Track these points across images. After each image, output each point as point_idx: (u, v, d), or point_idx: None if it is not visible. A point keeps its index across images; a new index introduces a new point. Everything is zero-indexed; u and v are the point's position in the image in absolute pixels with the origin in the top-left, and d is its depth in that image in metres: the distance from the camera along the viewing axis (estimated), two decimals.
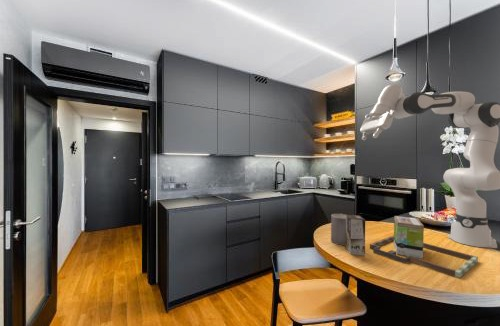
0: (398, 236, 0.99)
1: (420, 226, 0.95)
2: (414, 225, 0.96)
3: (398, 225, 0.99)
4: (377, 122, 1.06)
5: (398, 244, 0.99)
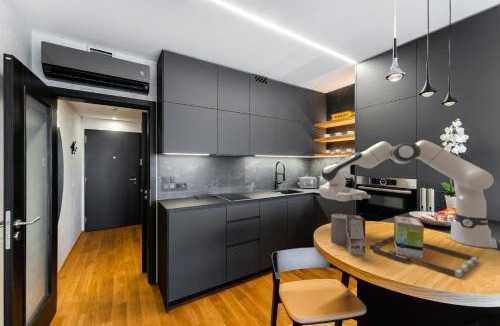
0: (398, 236, 0.99)
1: (420, 226, 0.95)
2: (414, 225, 0.96)
3: (398, 225, 0.99)
4: None
5: (398, 244, 0.99)
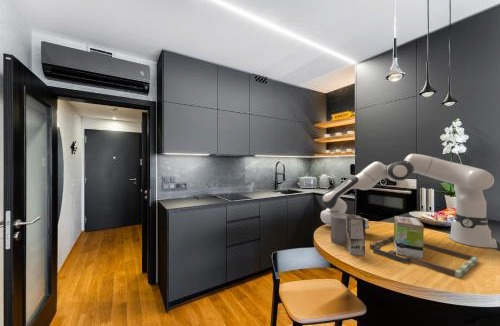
0: (398, 236, 0.99)
1: (420, 226, 0.95)
2: (414, 225, 0.96)
3: (398, 225, 0.99)
4: None
5: (398, 244, 0.99)
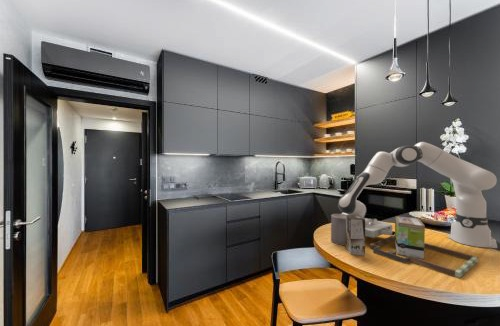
0: (399, 236, 0.99)
1: (421, 226, 0.95)
2: (415, 225, 0.96)
3: (399, 225, 0.99)
4: None
5: (399, 244, 0.99)
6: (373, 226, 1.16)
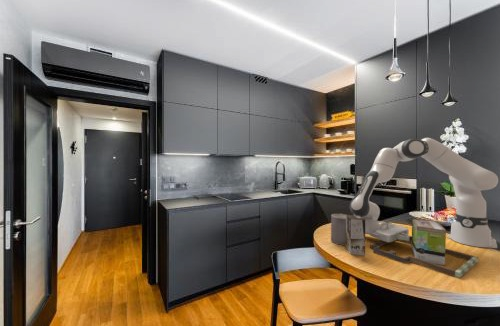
0: (418, 241, 0.93)
1: (442, 230, 0.89)
2: (435, 229, 0.91)
3: (418, 229, 0.93)
4: None
5: (417, 249, 0.93)
6: (388, 230, 1.09)
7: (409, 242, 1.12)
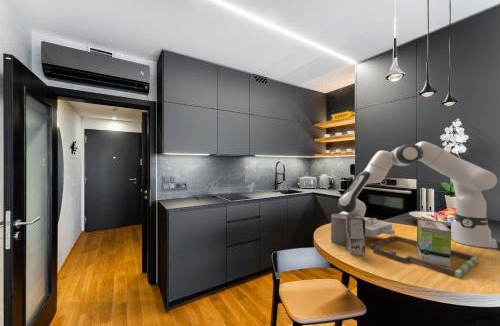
0: (422, 242, 0.92)
1: (447, 231, 0.88)
2: (440, 230, 0.89)
3: (422, 230, 0.92)
4: None
5: (422, 250, 0.92)
6: (373, 225, 1.15)
7: (409, 242, 1.12)
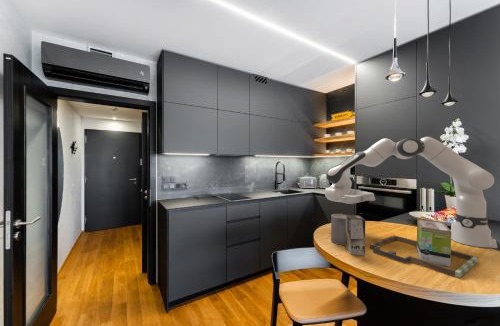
0: (422, 242, 0.92)
1: (447, 231, 0.88)
2: (440, 230, 0.89)
3: (422, 230, 0.92)
4: None
5: (422, 250, 0.92)
6: (356, 194, 1.23)
7: (409, 242, 1.12)
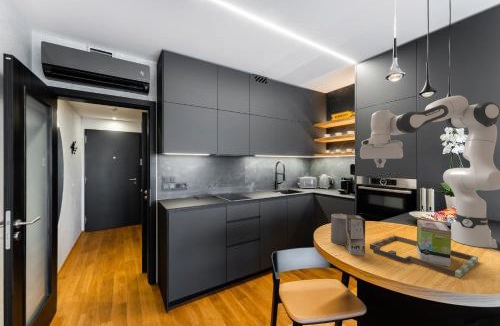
0: (422, 242, 0.92)
1: (447, 231, 0.88)
2: (440, 230, 0.89)
3: (422, 230, 0.92)
4: (387, 153, 1.10)
5: (422, 250, 0.92)
6: None
7: (409, 242, 1.12)
